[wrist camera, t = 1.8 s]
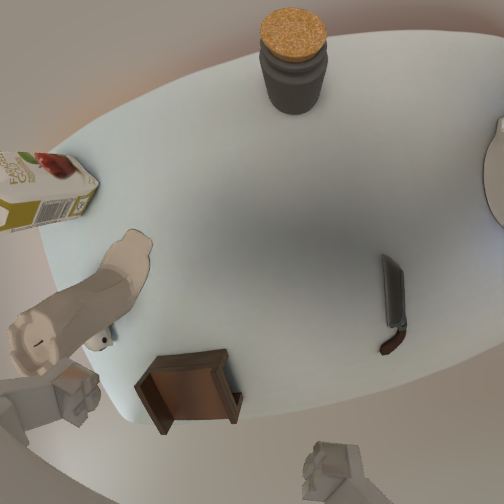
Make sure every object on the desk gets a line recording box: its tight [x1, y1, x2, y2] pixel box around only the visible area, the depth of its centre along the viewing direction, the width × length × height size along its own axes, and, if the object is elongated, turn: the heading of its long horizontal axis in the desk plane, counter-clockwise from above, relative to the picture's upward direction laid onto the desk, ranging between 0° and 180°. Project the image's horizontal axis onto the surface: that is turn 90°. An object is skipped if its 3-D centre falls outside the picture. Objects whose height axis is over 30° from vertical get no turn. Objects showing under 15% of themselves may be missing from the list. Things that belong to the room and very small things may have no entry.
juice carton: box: [0, 151, 99, 235], centre depth 27 cm, size 8×9×19 cm
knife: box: [380, 254, 407, 356], centre depth 34 cm, size 14×4×1 cm, turn 13°
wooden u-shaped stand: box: [134, 349, 243, 435], centre depth 36 cm, size 11×9×8 cm
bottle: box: [259, 8, 328, 115], centre depth 23 cm, size 6×6×15 cm
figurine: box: [84, 327, 113, 351], centre depth 38 cm, size 5×5×5 cm
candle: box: [7, 229, 152, 377], centre depth 29 cm, size 7×14×20 cm, turn 146°
